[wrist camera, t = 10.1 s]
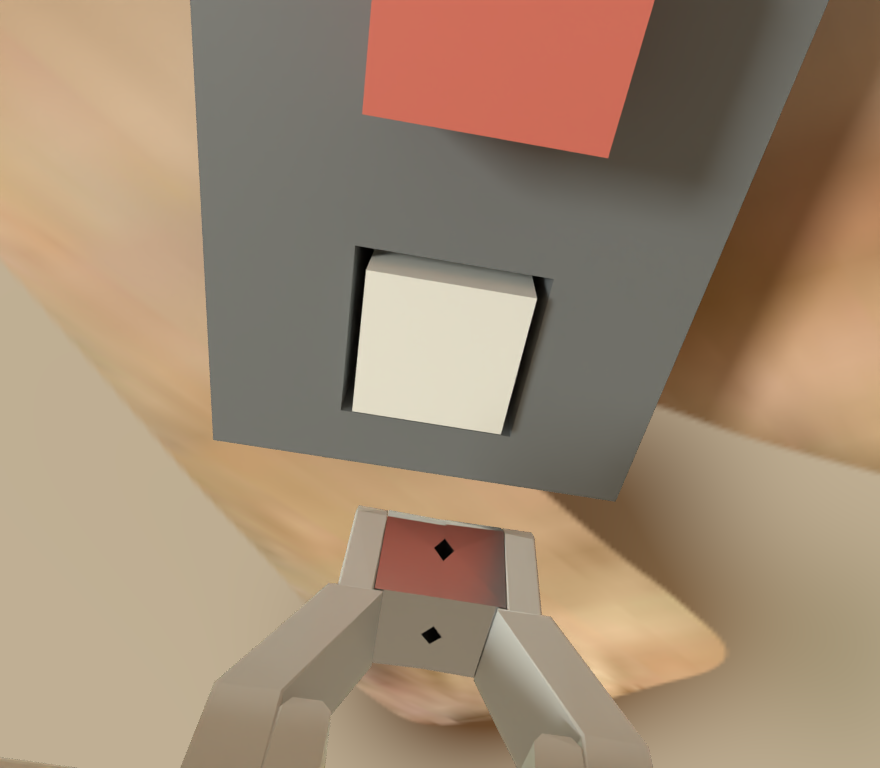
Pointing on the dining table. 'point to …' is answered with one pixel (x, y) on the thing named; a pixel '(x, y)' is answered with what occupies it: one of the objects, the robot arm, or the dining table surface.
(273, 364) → the button console
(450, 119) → the red button
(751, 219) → the dining table surface
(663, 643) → the dining table surface
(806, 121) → the dining table surface
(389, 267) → the white button
